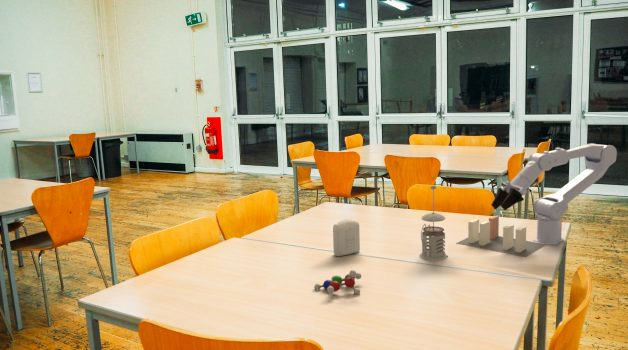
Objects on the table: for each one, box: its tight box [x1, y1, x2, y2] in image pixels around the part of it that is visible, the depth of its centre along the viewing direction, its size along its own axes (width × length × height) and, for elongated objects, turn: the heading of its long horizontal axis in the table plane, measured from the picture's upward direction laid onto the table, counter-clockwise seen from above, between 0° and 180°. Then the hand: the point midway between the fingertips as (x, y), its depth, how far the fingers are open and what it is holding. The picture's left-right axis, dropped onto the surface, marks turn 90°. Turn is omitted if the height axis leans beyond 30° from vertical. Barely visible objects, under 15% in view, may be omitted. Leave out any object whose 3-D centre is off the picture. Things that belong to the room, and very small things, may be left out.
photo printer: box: [332, 219, 361, 257], centre depth 183 cm, size 10×4×12 cm, turn 123°
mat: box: [456, 232, 548, 258], centre depth 186 cm, size 18×26×1 cm
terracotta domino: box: [488, 215, 500, 239], centre depth 193 cm, size 5×2×8 cm, turn 135°
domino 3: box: [502, 223, 515, 250], centre depth 180 cm, size 5×2×8 cm, turn 135°
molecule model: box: [313, 269, 362, 295], centre depth 151 cm, size 15×7×14 cm
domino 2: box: [479, 220, 490, 246], centre depth 186 cm, size 5×2×8 cm, turn 135°
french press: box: [419, 185, 449, 262], centre depth 174 cm, size 10×12×25 cm
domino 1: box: [467, 218, 480, 243], centre depth 189 cm, size 5×2×8 cm, turn 135°
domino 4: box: [514, 225, 527, 252], centre depth 177 cm, size 5×2×8 cm, turn 135°
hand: (498, 207), depth 181 cm, fingers open, 7 cm apart
